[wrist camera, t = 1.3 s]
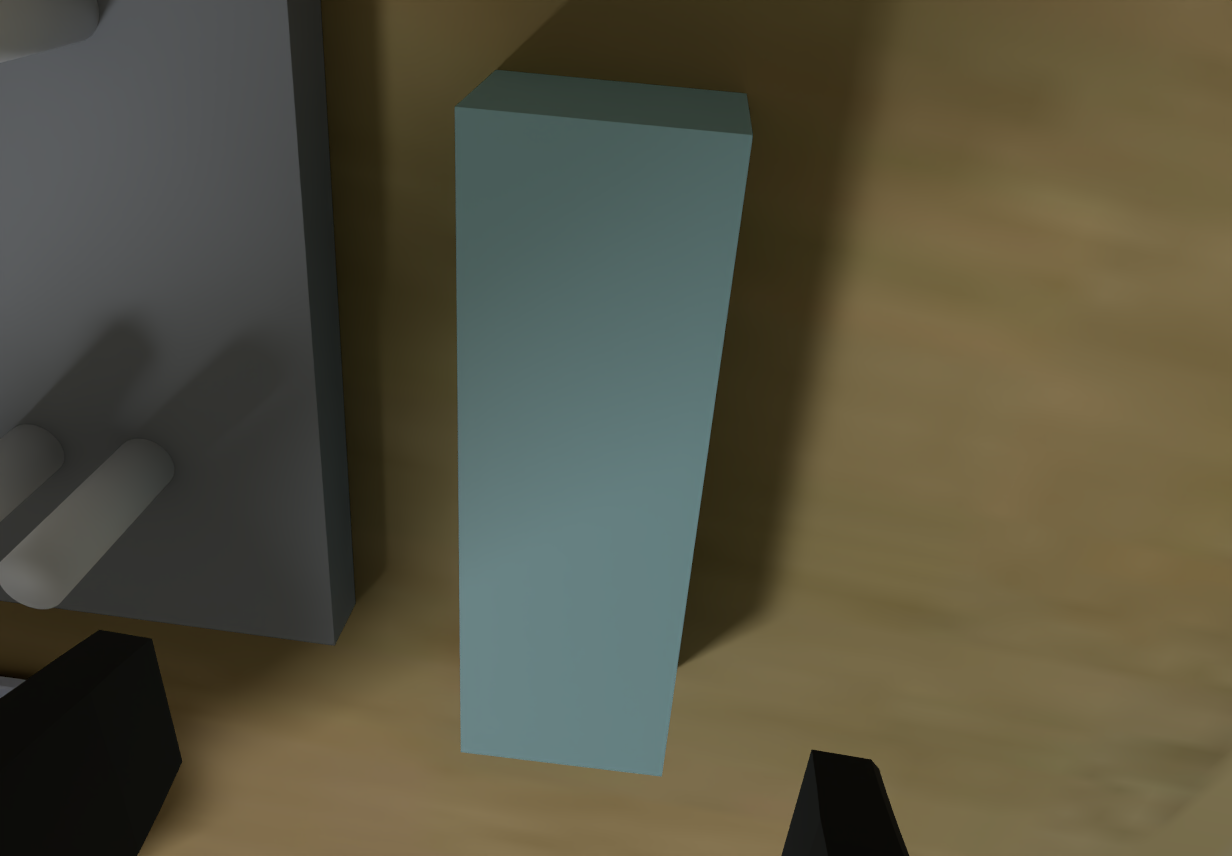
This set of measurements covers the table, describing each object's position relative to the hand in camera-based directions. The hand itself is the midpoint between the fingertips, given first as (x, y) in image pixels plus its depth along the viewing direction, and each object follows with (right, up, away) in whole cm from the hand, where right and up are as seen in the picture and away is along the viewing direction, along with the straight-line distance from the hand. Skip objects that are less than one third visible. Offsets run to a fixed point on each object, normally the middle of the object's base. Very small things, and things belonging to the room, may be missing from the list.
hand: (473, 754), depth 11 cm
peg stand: (-9, +8, +9) cm, 15 cm away
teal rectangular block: (+1, +4, +10) cm, 11 cm away
